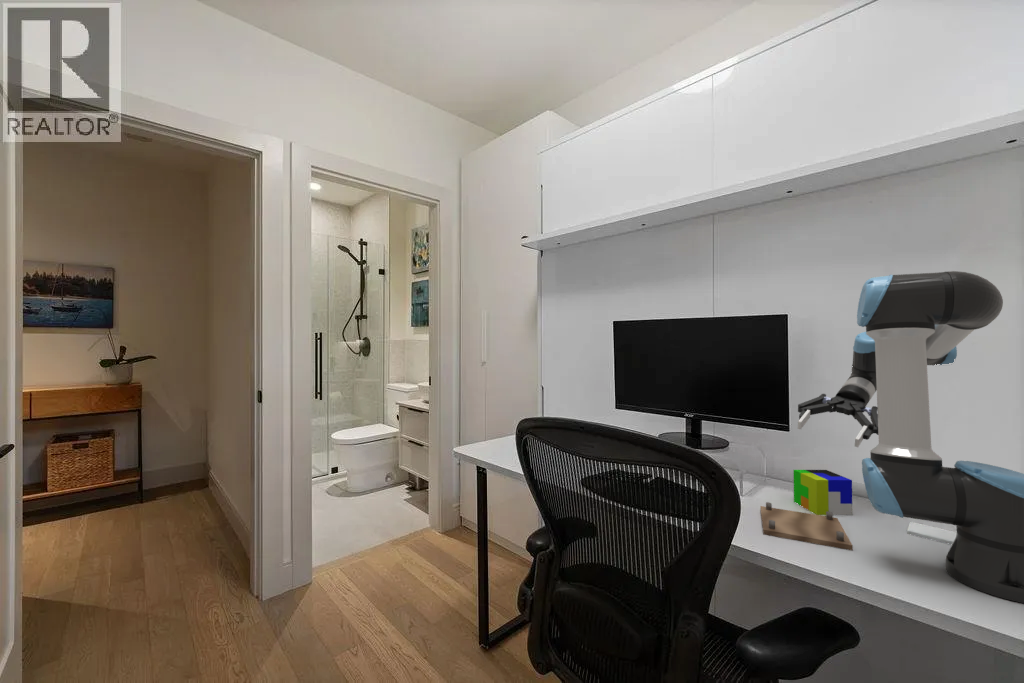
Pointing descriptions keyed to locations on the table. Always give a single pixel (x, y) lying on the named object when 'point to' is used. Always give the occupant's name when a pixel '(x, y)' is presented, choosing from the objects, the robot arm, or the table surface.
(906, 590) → the table surface
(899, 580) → the table surface
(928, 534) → the external hard drive
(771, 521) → the base plate
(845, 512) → the puzzle toy
